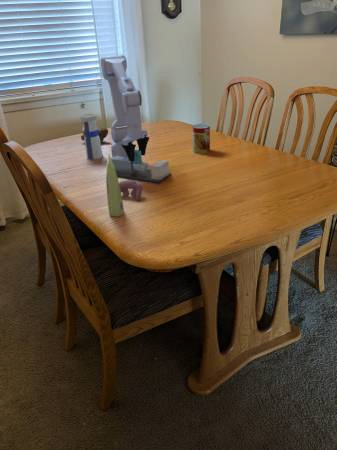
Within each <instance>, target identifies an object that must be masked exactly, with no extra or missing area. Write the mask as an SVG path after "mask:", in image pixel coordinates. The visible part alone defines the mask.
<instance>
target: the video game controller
mask: <svg viewBox="0 0 337 450" xmlns="http://www.w3.org/2000/svg"><path fill="white" fill-rule="evenodd" d="M119 186H120V191H121V194H122V195H123V196H124V197H128V196H129V195H130V196H131V197H133V198H135V200H136V201H138V202H139V201H140V200H141V197H142V194H143V190H144V186H143V184H142V183H139V182H138V181H137V180H132V179H127V180H122V181H120V182H119ZM130 190H131V191H130Z"/></svg>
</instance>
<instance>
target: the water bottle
mask: <svg viewBox="0 0 337 450" xmlns="http://www.w3.org/2000/svg"><path fill="white" fill-rule="evenodd" d="M85 105H86V103H84V102H83V101H81V104H79V107H80V109H81V110H82V109H86V108H85ZM98 119H99V117H98V115H97V114H96V113H86V114H84V115H83V116H82V117H81V116H79V121H80V124H82V123H83V127H82V135H84V136H85V138H84V140H85V141H84V145H85V156H86V159H87V158H88V159H87V160H99V159H101V158H103V157H104V155H103V150H102V143H100V138H99V135H98V130H97V129H99V127H98V125H97V120H98ZM102 156H103V157H102ZM98 158H99V159H98Z"/></svg>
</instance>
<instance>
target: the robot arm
mask: <svg viewBox="0 0 337 450" xmlns="http://www.w3.org/2000/svg"><path fill="white" fill-rule="evenodd" d="M127 62H128V61H127V58H126V55H124V54H120V55H107V56H104V55H103V56H101V57H100V68H101V75H102V77H103V79H104V80H106V81H107V82H108V85H109V91H110V96H111V101H112V105H113V106H112V107H113V112H114V119H115V121H113V123H112V124H111V125H110V131H111V132H110V134H111V140H112V144H111V149H110V150H111V158H112V157H114V156H122V157H128V159H129V161H134V160H135V150H136V146H137V148H138V150H141V156H146V152H147V145H148V143H149V141H150V137H149V136H148V130H143V125H142V115H141V106H142V104H143V102H142V101H143V99H142V95H141V91H140V90H139V89H137V88H135V86H134V83H133V80H132V79H131V78H130V77H128V76H127V73H126V71H127V69H128V63H127ZM135 141H136V144H137V145H136V144H134V142H135Z"/></svg>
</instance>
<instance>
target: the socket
mask: <svg viewBox="0 0 337 450" xmlns="http://www.w3.org/2000/svg"><path fill="white" fill-rule="evenodd" d="M150 170H151V175H152V179H156V180H162V179H163V178H165V177H166V176H168V175H169V173H170V167H169V161H167V160H158V161H155V162H154V163H153V164H151V165H150Z"/></svg>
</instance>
